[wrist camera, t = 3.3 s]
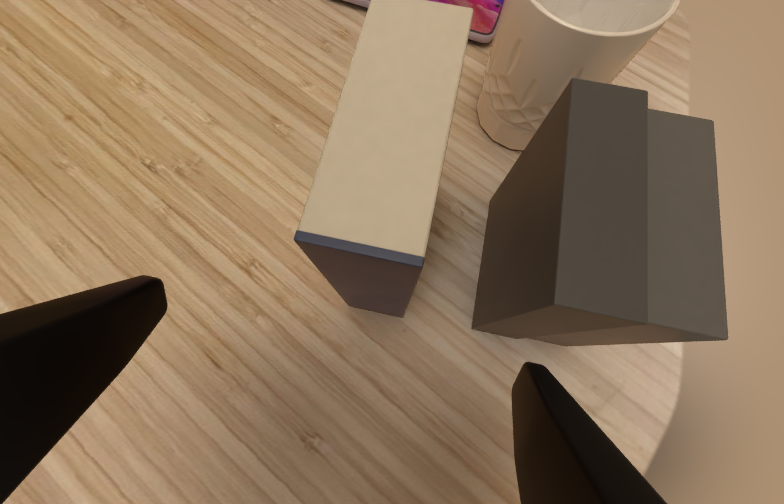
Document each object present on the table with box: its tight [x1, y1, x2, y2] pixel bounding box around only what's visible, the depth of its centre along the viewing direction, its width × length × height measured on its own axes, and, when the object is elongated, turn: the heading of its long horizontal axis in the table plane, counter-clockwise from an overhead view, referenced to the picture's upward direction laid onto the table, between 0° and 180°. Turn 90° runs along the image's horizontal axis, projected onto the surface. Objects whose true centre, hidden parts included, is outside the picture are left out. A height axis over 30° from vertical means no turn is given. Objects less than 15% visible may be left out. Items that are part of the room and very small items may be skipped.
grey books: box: [472, 78, 728, 346], centre depth 17 cm, size 9×6×11 cm, turn 168°
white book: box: [294, 0, 473, 318], centre depth 16 cm, size 9×4×13 cm, turn 168°
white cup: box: [477, 0, 680, 151], centre depth 21 cm, size 8×8×10 cm
